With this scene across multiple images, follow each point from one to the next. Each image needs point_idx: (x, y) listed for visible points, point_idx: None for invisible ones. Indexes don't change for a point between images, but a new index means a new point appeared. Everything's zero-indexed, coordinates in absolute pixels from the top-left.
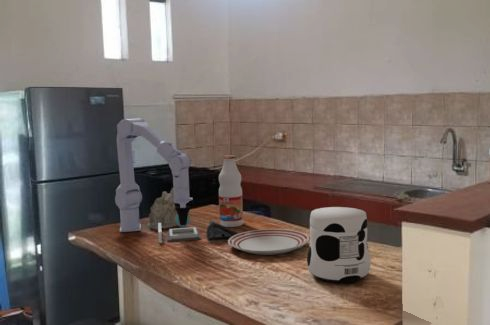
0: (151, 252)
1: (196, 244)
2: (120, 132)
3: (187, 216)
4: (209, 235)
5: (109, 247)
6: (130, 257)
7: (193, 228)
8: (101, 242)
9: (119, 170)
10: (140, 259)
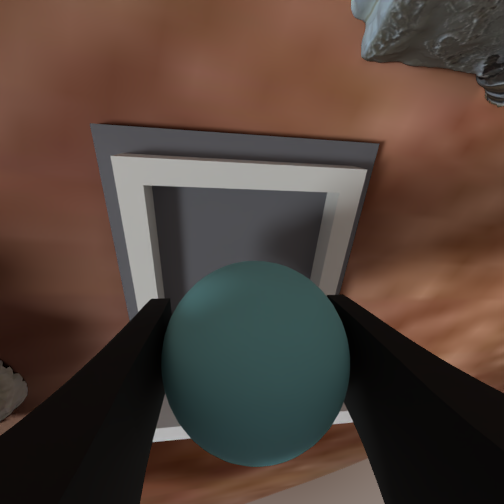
0: None
1: (464, 193)
2: None
3: (436, 356)
4: (465, 60)
5: (299, 476)
6: None
7: (164, 184)
8: (229, 500)
9: None
10: None
